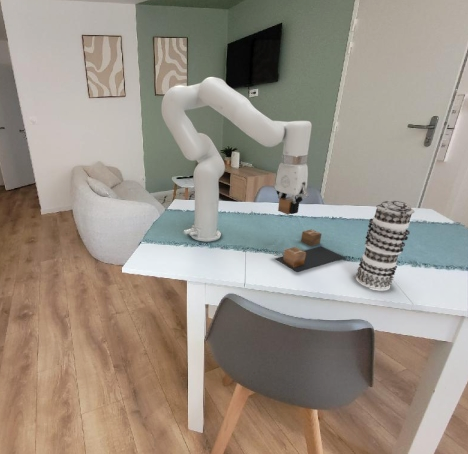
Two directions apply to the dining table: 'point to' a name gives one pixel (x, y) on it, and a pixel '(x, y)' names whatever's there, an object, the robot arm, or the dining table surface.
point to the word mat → (314, 258)
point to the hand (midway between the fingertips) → (287, 210)
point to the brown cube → (285, 205)
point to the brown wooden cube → (294, 257)
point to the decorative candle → (384, 244)
